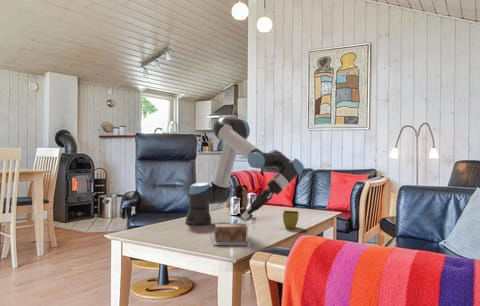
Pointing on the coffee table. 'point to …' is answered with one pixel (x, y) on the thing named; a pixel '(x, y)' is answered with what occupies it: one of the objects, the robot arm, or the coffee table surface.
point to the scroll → (243, 192)
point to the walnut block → (231, 232)
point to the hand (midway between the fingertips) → (242, 218)
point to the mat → (226, 242)
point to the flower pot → (290, 218)
